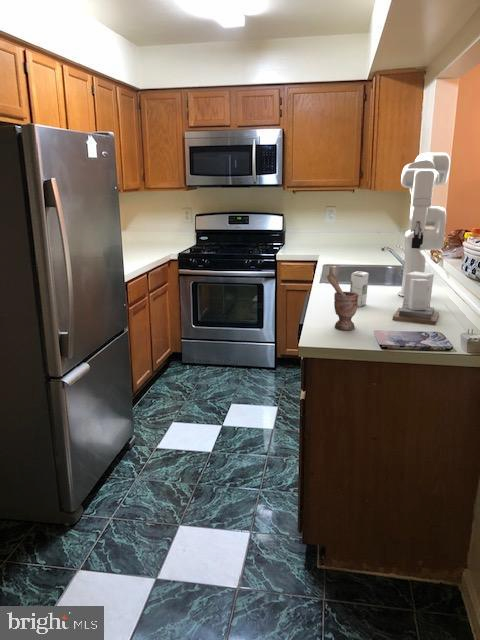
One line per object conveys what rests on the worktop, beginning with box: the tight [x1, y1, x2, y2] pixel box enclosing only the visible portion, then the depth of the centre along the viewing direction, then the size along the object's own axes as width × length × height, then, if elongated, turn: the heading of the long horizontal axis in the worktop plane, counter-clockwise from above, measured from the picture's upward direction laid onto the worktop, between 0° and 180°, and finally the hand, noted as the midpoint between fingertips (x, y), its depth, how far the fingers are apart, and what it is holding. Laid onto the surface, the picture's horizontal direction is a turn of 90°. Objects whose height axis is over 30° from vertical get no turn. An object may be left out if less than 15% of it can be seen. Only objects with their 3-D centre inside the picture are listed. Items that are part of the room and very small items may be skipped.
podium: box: [392, 304, 440, 326], centre depth 206 cm, size 16×16×4 cm
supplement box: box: [402, 272, 434, 307], centre depth 221 cm, size 9×9×15 cm
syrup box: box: [349, 271, 369, 308], centre depth 224 cm, size 6×6×14 cm
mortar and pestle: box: [326, 273, 358, 331], centre depth 189 cm, size 12×9×20 cm
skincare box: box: [408, 279, 429, 310], centre depth 204 cm, size 6×4×12 cm
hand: (417, 246), depth 205 cm, fingers open, 9 cm apart
